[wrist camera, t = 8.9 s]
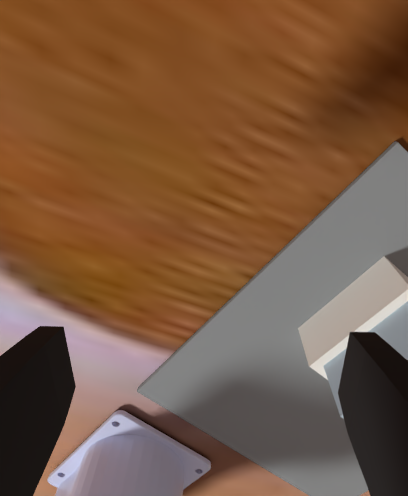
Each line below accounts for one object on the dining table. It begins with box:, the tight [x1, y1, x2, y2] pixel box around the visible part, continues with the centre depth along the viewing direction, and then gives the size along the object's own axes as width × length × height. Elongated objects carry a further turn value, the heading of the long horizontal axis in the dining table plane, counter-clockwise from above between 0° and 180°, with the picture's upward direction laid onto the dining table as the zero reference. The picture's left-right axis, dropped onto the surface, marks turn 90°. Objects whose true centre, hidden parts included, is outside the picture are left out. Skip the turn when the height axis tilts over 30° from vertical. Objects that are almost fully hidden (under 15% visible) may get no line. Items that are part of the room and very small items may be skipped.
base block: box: [298, 256, 408, 380], centre depth 20 cm, size 6×6×3 cm
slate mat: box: [137, 141, 408, 496], centre depth 23 cm, size 20×18×1 cm
